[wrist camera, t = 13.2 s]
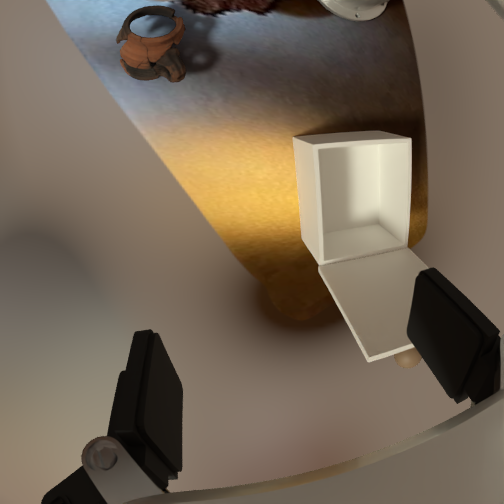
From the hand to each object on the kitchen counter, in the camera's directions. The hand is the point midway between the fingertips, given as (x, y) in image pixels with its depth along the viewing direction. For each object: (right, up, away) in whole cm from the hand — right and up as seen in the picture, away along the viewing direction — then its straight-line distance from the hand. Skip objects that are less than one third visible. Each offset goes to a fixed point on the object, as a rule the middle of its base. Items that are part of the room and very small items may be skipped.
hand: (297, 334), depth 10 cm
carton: (+12, +13, +36) cm, 40 cm away
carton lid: (+15, -2, +24) cm, 29 cm away
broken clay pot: (-14, +30, +24) cm, 41 cm away
